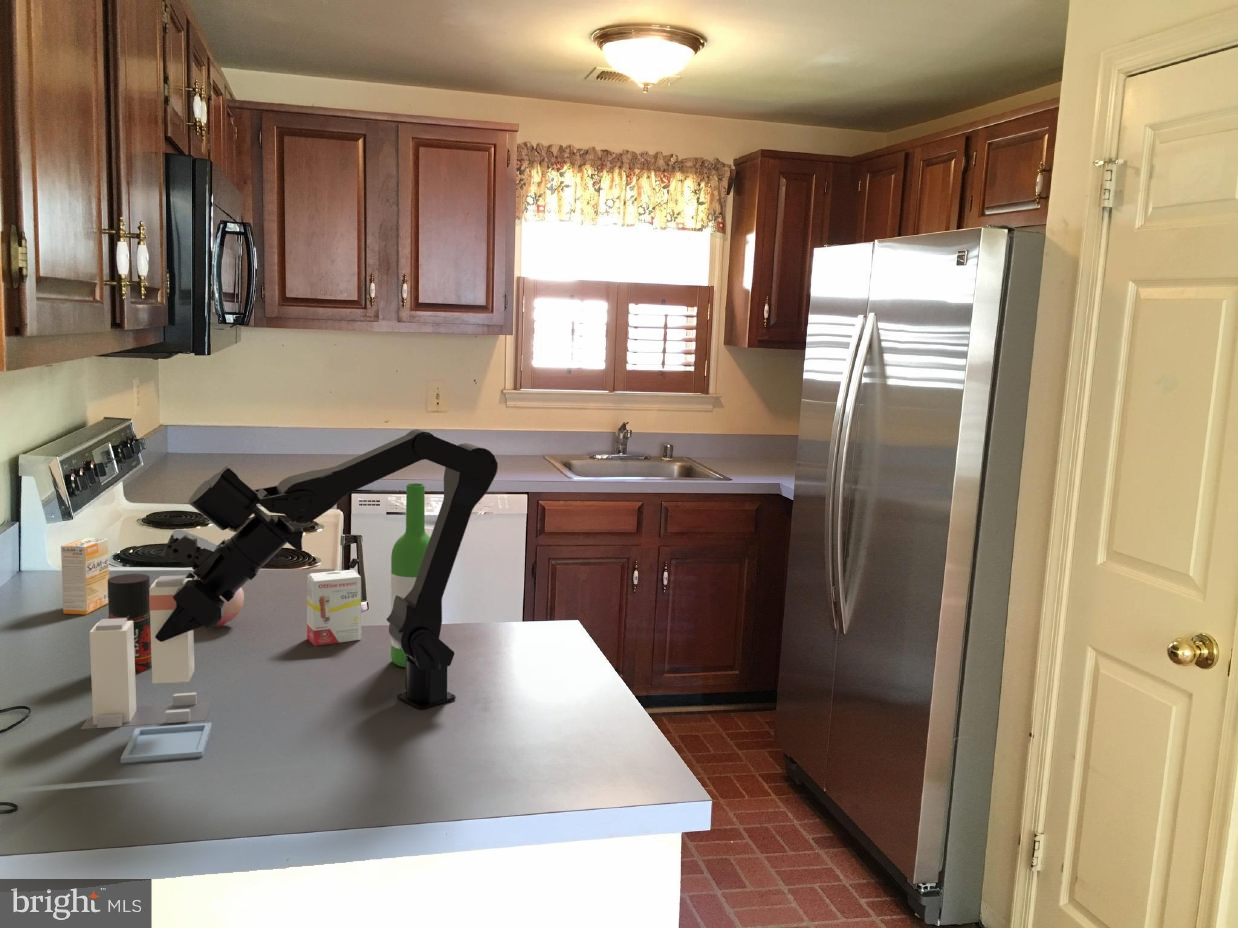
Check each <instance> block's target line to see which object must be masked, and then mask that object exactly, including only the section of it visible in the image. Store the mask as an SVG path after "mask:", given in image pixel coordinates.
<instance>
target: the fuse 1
mask: <svg viewBox="0 0 1238 928" xmlns="http://www.w3.org/2000/svg"><path fill="white" fill-rule="evenodd" d="M89 651H90V653H89V654H90V671H91V672H90V673H91V675H90V676H91V677H90V678H91V701H92V711H93V725H95V724H97V716H98V715H107V714H122V713H123V723H124V722H130V721H131V719H132V717H133V715H134V713H135V711H136V706H137V694H136V693H137V691H136V690H137V689H136V688H137V687H136V674H135V656H134V627H133V621H127V618H118V619H109V618H102V619H100V620H99V621H98V622H97V623H96V624H95V625H94V626H93V627H92V628H91V630H90V631H89Z"/></svg>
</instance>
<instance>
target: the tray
mask: <svg viewBox="0 0 1238 928" xmlns="http://www.w3.org/2000/svg"><path fill="white" fill-rule="evenodd" d="M212 725H213V723H212V722H205V723H204V722H203V723H187V724H174V725H173V724H172V725H161V726H158V725H157V726H148V727H147V726H145V727H135V729H134V730H133V733H132V735H131V736H130V739H129V740H128V743H127V744H126V746H125V749H124V751H123V752H122V754H121V756H120V764H121V765H122V764H123V765H124V764H135V763H147V762H156V761H157V762H158V761H171V760H173V761H174V760H183V759H184V760H185V759H196V758H203V756H204V753H205V750H206V747H207V745H208V741H209V738H210V735H211V732H212V730H213V729H212V728H213V727H212Z"/></svg>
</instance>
